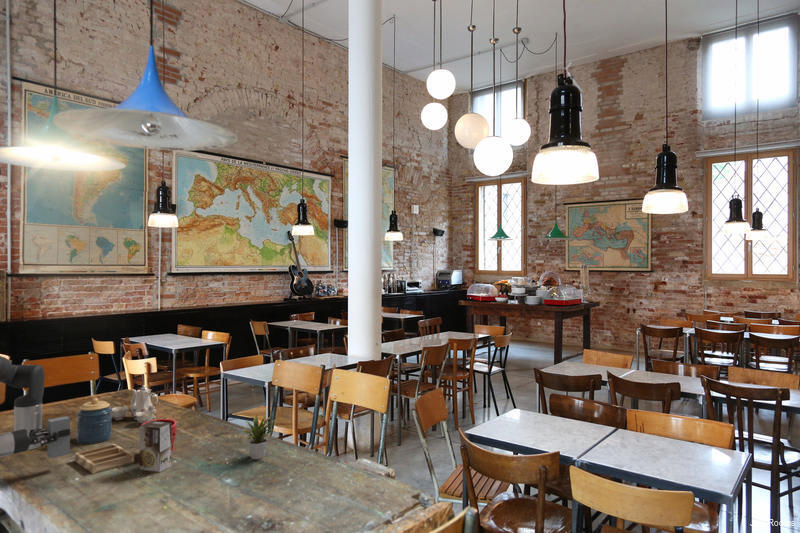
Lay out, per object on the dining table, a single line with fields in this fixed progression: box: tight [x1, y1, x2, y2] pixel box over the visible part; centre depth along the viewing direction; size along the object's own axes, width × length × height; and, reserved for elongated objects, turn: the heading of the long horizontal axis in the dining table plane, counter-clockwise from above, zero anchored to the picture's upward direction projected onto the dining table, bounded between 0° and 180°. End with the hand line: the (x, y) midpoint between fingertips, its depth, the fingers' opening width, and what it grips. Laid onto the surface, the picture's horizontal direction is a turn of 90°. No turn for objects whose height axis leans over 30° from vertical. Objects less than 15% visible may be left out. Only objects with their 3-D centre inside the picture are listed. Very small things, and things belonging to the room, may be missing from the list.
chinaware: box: [111, 384, 159, 426], centre depth 245 cm, size 28×17×17 cm, turn 72°
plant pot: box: [141, 418, 178, 453], centre depth 201 cm, size 13×13×12 cm
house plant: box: [241, 414, 277, 460], centre depth 198 cm, size 14×14×16 cm
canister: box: [75, 397, 113, 445], centre depth 217 cm, size 13×13×18 cm
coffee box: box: [139, 420, 172, 473], centre depth 188 cm, size 9×6×16 cm
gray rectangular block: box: [46, 415, 71, 459], centre depth 185 cm, size 4×6×13 cm, turn 140°
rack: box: [74, 443, 135, 475], centre depth 193 cm, size 18×14×3 cm
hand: (67, 430), depth 187 cm, fingers closed on gray rectangular block, 3 cm apart
